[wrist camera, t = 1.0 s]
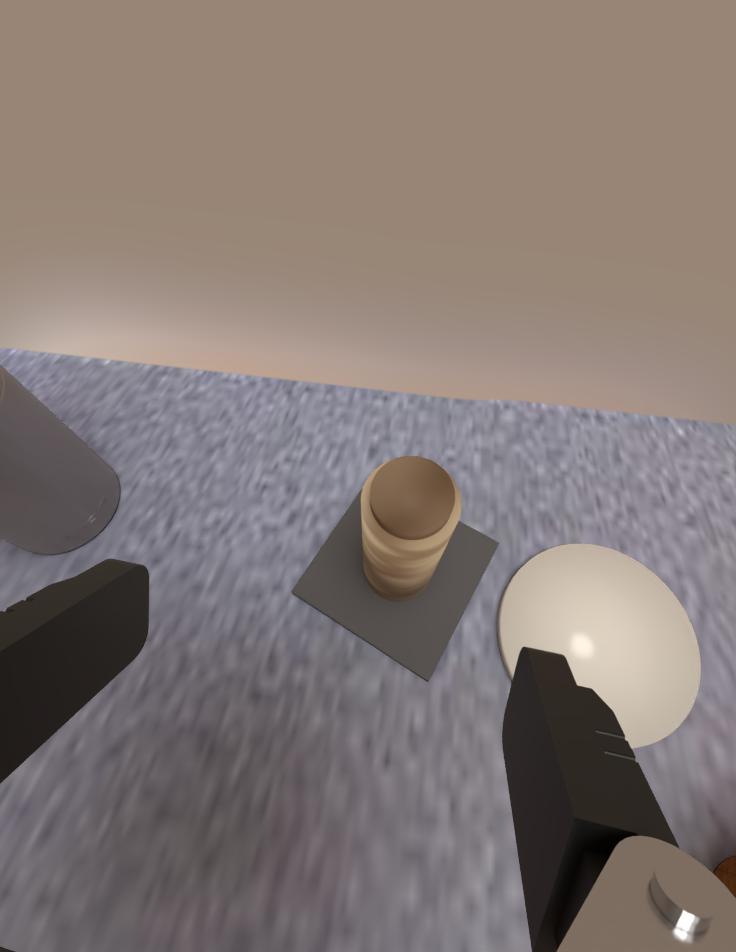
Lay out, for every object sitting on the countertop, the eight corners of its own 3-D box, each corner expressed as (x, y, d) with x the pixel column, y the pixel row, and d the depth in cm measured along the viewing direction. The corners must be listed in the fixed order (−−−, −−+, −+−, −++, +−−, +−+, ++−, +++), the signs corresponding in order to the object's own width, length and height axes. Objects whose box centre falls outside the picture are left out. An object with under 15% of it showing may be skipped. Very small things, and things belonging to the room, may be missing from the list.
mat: (292, 593, 36) (291, 591, 35) (372, 476, 40) (372, 473, 40) (427, 681, 33) (428, 681, 33) (497, 544, 38) (499, 543, 37)
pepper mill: (350, 577, 36) (340, 509, 23) (385, 522, 38) (393, 432, 25) (410, 615, 35) (434, 563, 22) (443, 555, 37) (482, 478, 24)
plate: (465, 671, 33) (468, 670, 32) (539, 518, 39) (544, 512, 38) (658, 794, 30) (669, 797, 29) (710, 607, 35) (721, 604, 34)
